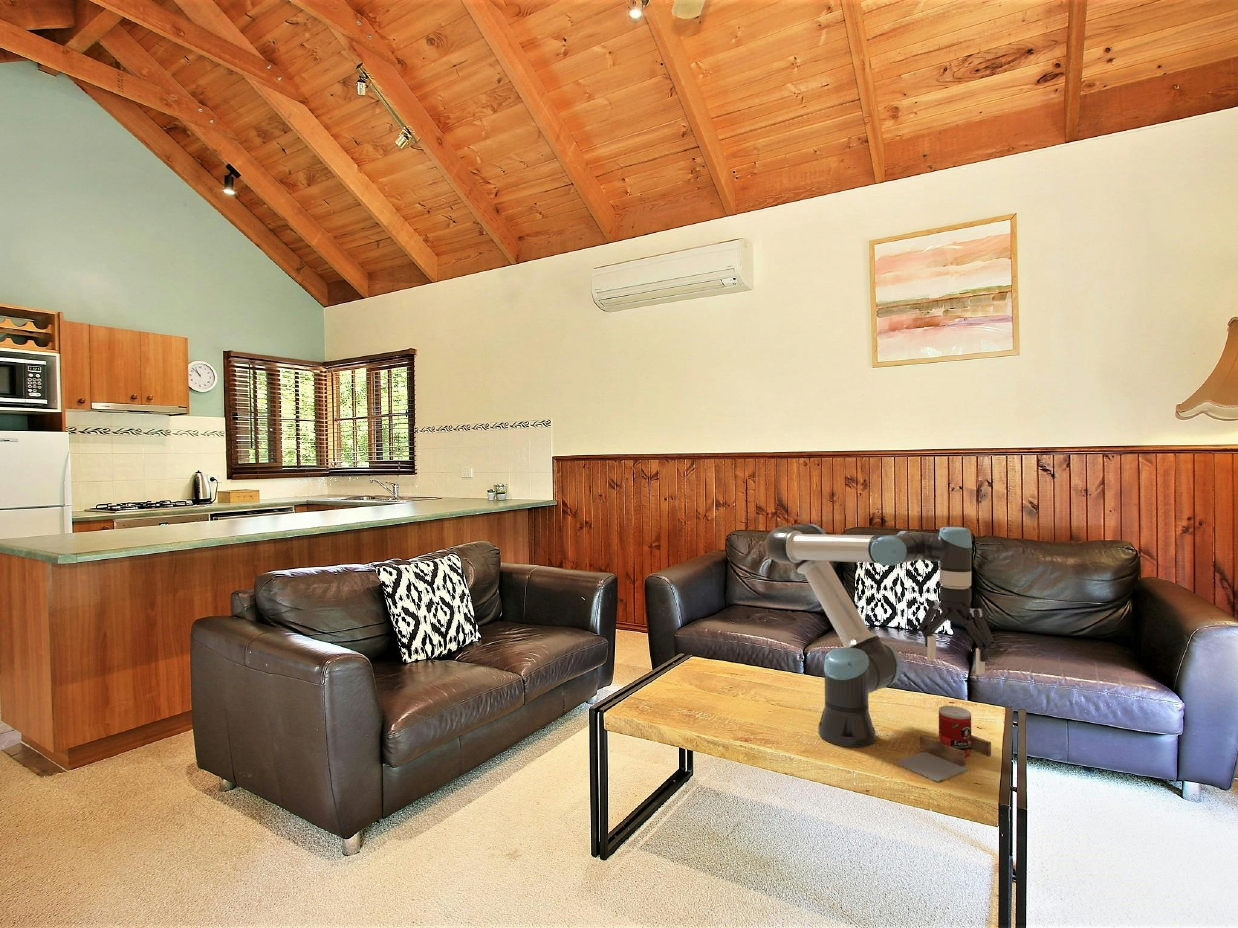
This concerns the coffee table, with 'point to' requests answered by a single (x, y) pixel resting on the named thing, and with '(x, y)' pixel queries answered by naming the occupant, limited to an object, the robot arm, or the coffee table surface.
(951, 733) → the canned food
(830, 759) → the coffee table surface
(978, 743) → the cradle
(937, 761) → the mat
